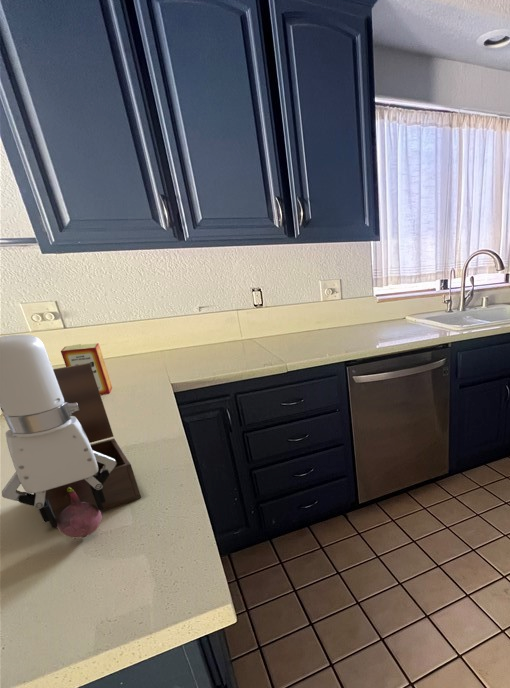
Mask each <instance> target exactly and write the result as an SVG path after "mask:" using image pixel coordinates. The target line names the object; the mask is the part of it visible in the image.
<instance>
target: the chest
mask: <svg viewBox="0 0 510 688" xmlns="http://www.w3.org/2000/svg"><path fill="white" fill-rule="evenodd" d="M90 445H91V448H92V450H93V451H96V452H98V453H101V454H103V455H106V456H109V457H111V458H114V459H115V460H116V462H117V464H116V466H115V467H114V468H113V470H112V471H111V472H110V474H109V476H108V478H107V479H106V481H105V482H104V484H103V487H102V488H101V489H102V492H103V494H104V497H105V500H106V502H104V503H102V505H103V508H104V510H102V511H101V510H100V512H101V513H102V512H104V511H108V510H110V509H113V508H116V507H119V506H122V505H125V504H128V503H130V502H134V501H136V500H139V499H141V498H142V496H141V492H140V489H139V486H138V483H137V480H136V479H137V478H136V476H135V473H134V470H133V466H132V464H131V462H130V460H129V459H128V457H127V456H126V454H125V453H124V451H123V450H122V448H121V446H120V445H119V444H118V441H117V440H116V439H115V438H114V437H112V438H108V439H104V440H100V441H97V442H93V443H90ZM97 464H98V469H99V470H98V472H99V471H100V469H102V468H103V466H104V464H102V463H99V462H97ZM98 472H97V473H98ZM97 473H96V474H95V475H97ZM90 486H91V485H90V484H89V483H88V482H87V481H86V480H85V479H82V480H79V481H76V482H73V483H69V484H66V485H63V486H60V487H56V488H53V489H50V490H46V495H45V499H46V500H48V501H49V504H50V506H51V508H52V511H53V513H54V515H55V518H56V522H57V519H58V517H59V515H60V513H61V512H62V511H63V510H64V509H65V508H67V507H68V506H70V504H71V497H70V495H69V492H68V490H67V488H68V487H70V488H72V490H74V491H75V492H76V494H77V496H78V498H79V500H80V502H86V503H90V504H93V505H95V506H96V507H97V504H96V502H95V499H94V496H93V494H92V491H91V488H90ZM69 490H70V489H69ZM55 528H58V527H57V525H56V527H53V528H52V529H55Z"/></svg>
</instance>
